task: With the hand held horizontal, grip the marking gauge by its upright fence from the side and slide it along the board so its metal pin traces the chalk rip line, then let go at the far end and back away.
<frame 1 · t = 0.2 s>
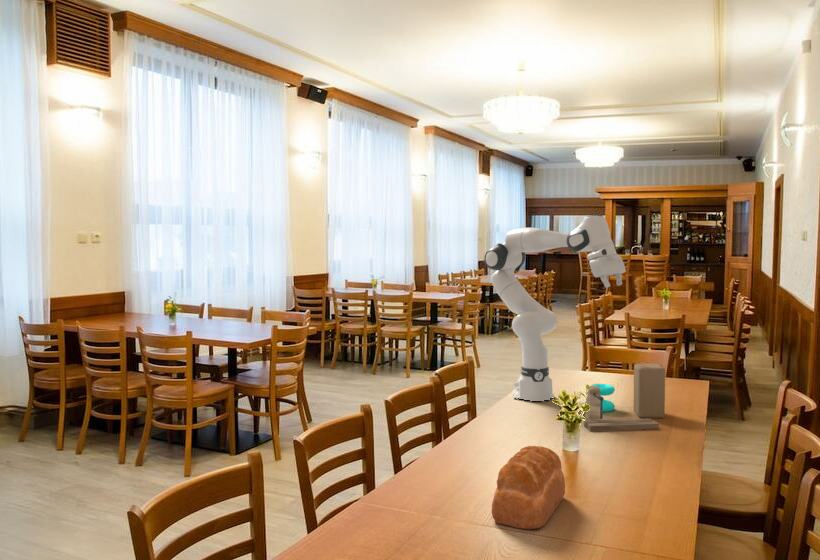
hand: (613, 286, 268), 51 cm above the table, tool tilted 20°, fingers open, 8 cm apart
grey rectangular block: (648, 415, 268), on the table
gauge: (592, 422, 258), on the table
bread: (529, 510, 177), on the table
board: (620, 427, 251), on the table
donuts: (601, 409, 278), on the table
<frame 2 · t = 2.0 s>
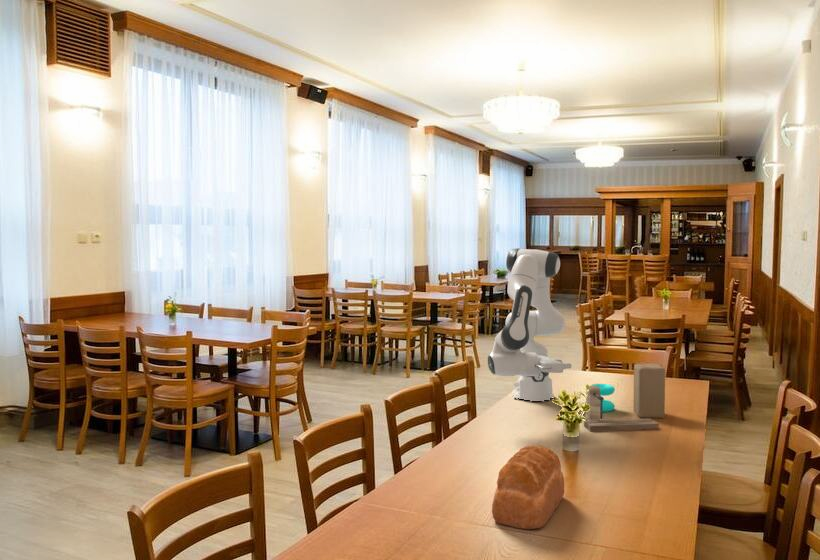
hand: (566, 363, 255), 23 cm above the table, tool horizontal, fingers open, 8 cm apart
nothing on the table moved.
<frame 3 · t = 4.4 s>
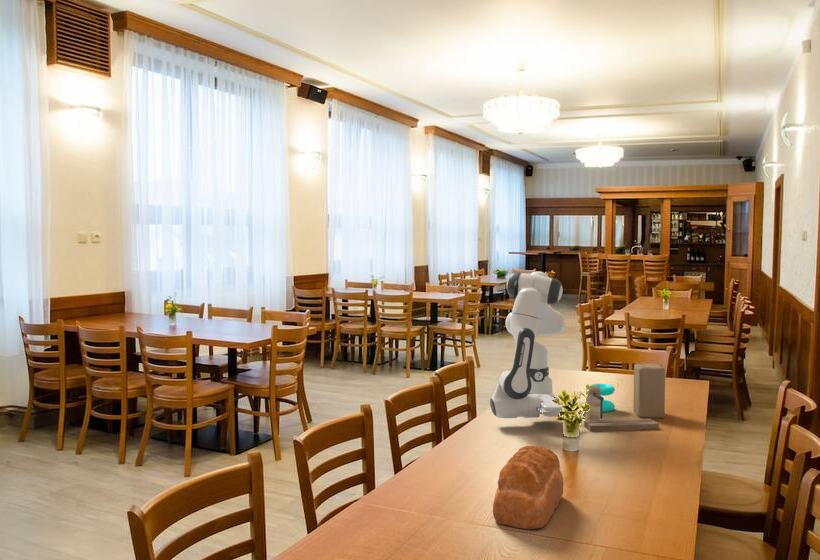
hand: (568, 404, 256), 7 cm above the table, tool horizontal, fingers open, 8 cm apart
nothing on the table moved.
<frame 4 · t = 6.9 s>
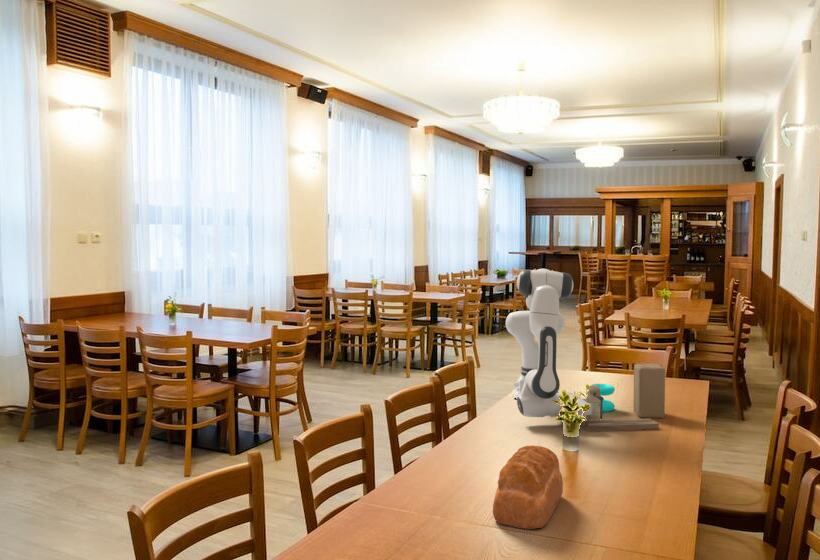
hand: (595, 403, 257), 8 cm above the table, tool horizontal, fingers closed on gauge, 4 cm apart
gauge: (592, 422, 258), on the table, touching gripper
everything else where it was.
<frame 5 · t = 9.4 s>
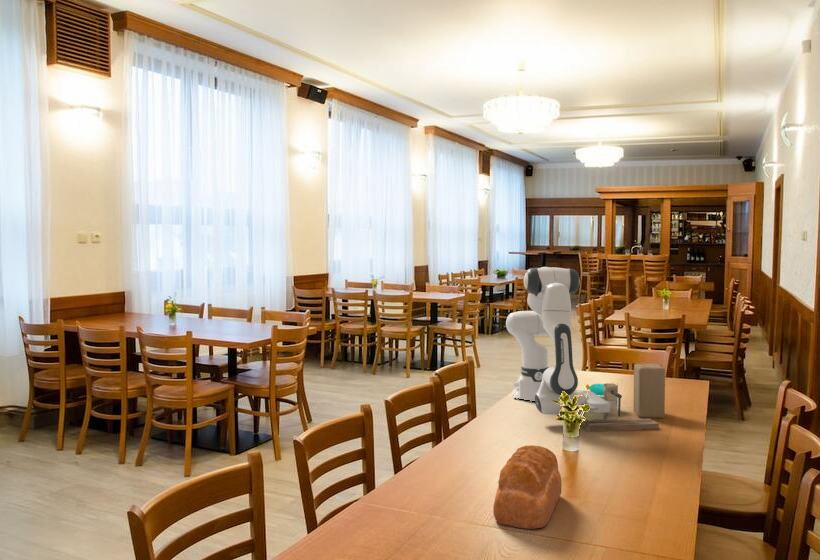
hand: (612, 401, 258), 8 cm above the table, tool horizontal, fingers closed on gauge, 4 cm apart
gauge: (610, 420, 258), point 1 cm above the table, touching gripper
everything else where it was.
when the fingers open (8 cm above the table, at t = 12.1 s): gauge stays where it is, on the table.
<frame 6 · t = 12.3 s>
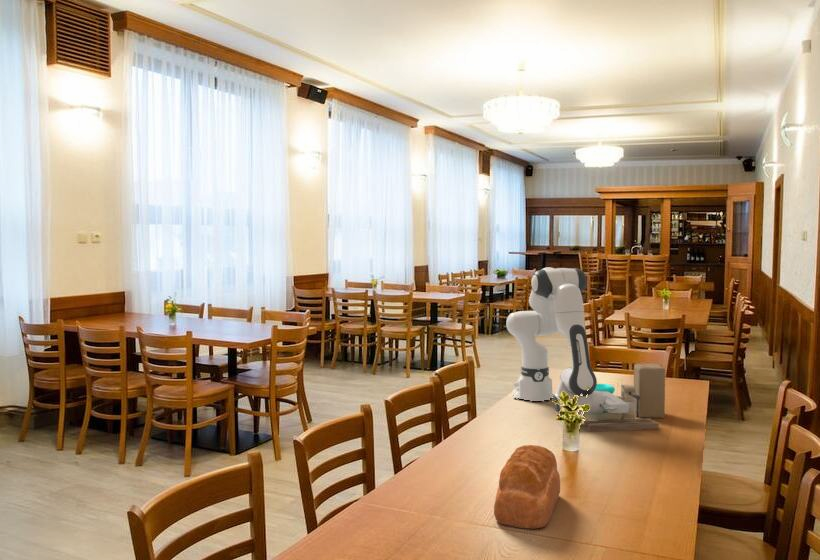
hand: (630, 401, 259), 8 cm above the table, tool horizontal, fingers open, 6 cm apart
gauge: (627, 421, 259), on the table
everything else where it was.
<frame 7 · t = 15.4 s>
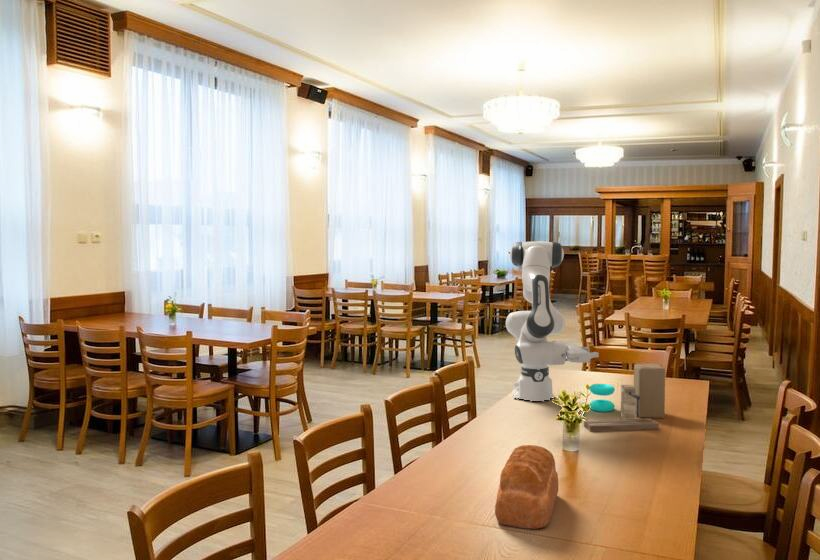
hand: (593, 352, 256), 27 cm above the table, tool horizontal, fingers open, 8 cm apart
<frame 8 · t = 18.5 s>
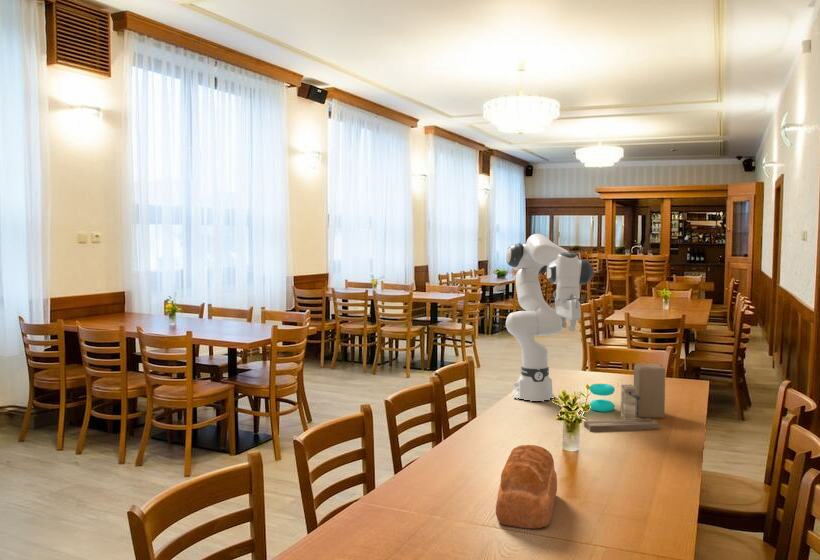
hand: (567, 329, 264), 35 cm above the table, tool pointing down, fingers open, 8 cm apart
at the end: gauge inside the target area (0.1 cm from its centre), on the table; gauge tilted 0°; the gripper is holding nothing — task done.
